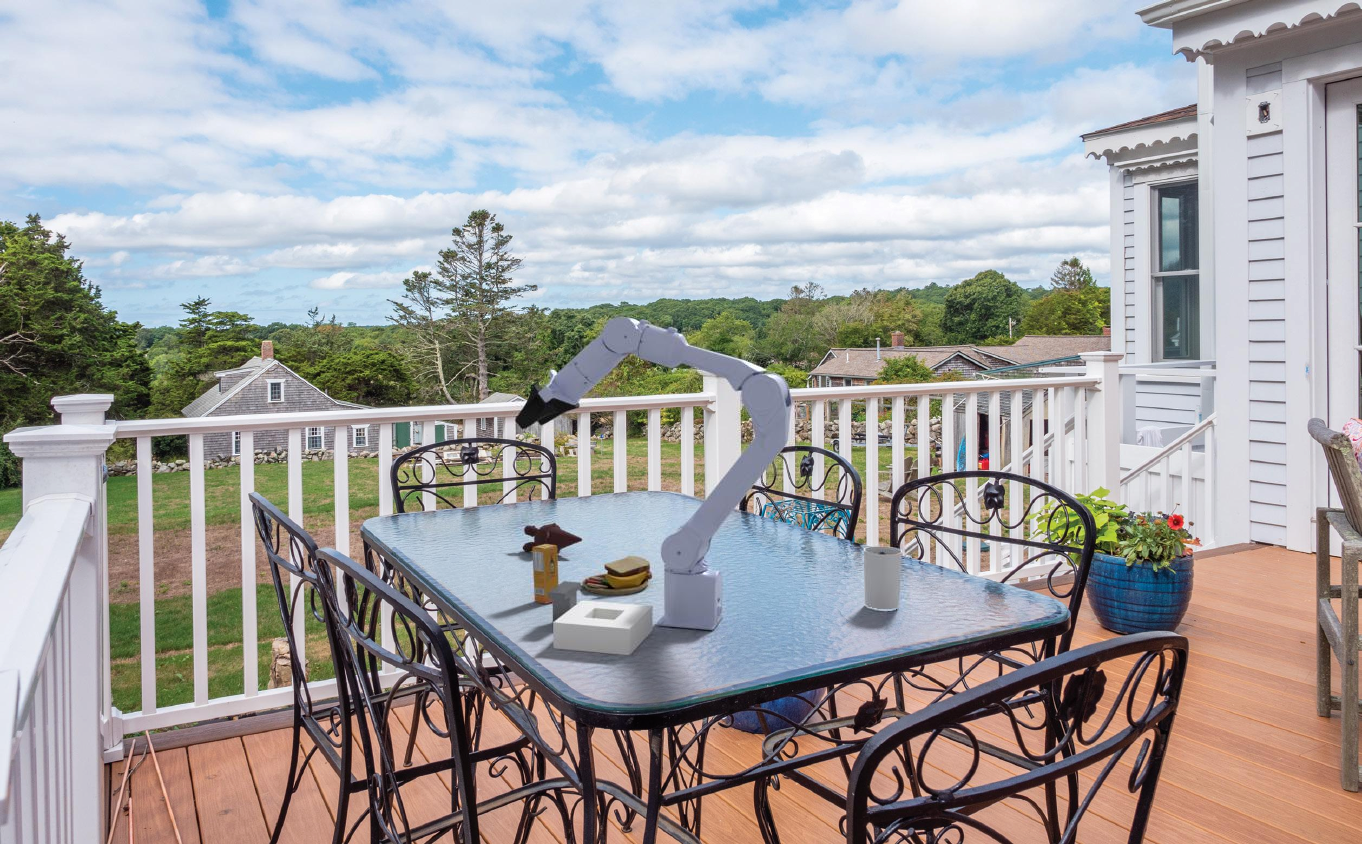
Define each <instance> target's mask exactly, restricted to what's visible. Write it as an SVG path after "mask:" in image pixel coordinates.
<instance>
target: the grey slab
mask: <svg viewBox="0 0 1362 844" xmlns="http://www.w3.org/2000/svg"><path fill="white" fill-rule="evenodd" d="M581 589H582V582H580V581H562V582H561V583H559V585H558V586H556V587H555V588H553V589H552V590H550V591H549V592H548V598H549V599H553V602H552V623H553V622H554V621H556V620H557V619H558V618H560V617H561V616H562V615H563V614H565V613H566V612H567V611H569V610H570V609H571V608H573V607H574V606H575V605H577V604H578V603H577V600H578V599H577V598H578V597H577V595H578V594H577V592H578V591H579V590H581Z"/></svg>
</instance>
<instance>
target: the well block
mask: <svg viewBox="0 0 1362 844" xmlns="http://www.w3.org/2000/svg"><path fill="white" fill-rule="evenodd" d="M653 613H654V611H653V605H643V604H632V603H621V602H619V603H618V602H608V601H607V602H606V601H594V600H593V601H592V600H580V602H578V603H577V605H575V606H574V607H573V608H571V609H570V610H569V611H567V612H566V613H565V614H563V615H562V616H561V617H560V618H558V619H557V620H556V621H554V622H553V621H552V626H553V628H552V629H553V632H552V633H553V641H552V642H553V649H555V650H556V649H557V650H567V651H568V650H569V651H577V652H578V651H579V652H588V653H589V652H590V653H600V654H610V655H611V654H612V655H621V656H631V655H632V653H633V652H635V650H636V649H637V648H638V647H639V646H640V645H641V644H642V643H643V641H645V639H646V638H647V637H649V635H650V634H651V633H652V632H653V625H654V624H653V619H654V618H653Z"/></svg>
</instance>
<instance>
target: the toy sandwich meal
mask: <svg viewBox="0 0 1362 844" xmlns="http://www.w3.org/2000/svg"><path fill="white" fill-rule="evenodd" d="M650 569H651V563H650V561H649V560H647V559H646V558H643V557H640V556H636V555H629V556H627V557H624V558H621V559H618V560H615V561H611V562H608V563H605V564H604V570H606V571H607V573H601V574H595V575H591V576H588V577H586V578H584V579H583V581H582V582H581V585H582V587H584V588H585V589H586V590H587V591H589V592H591V593H594V594H599V595H607V596H609V595H610V596H613V595H615V596H618V595H619V596H620V595H628V594H634V593H638V592H640V591H642V590H644V589H645V588H646V587H647V586H648V584H649V582H650V581H649V580H651V579H653V574H652V571H651V570H650Z"/></svg>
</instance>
